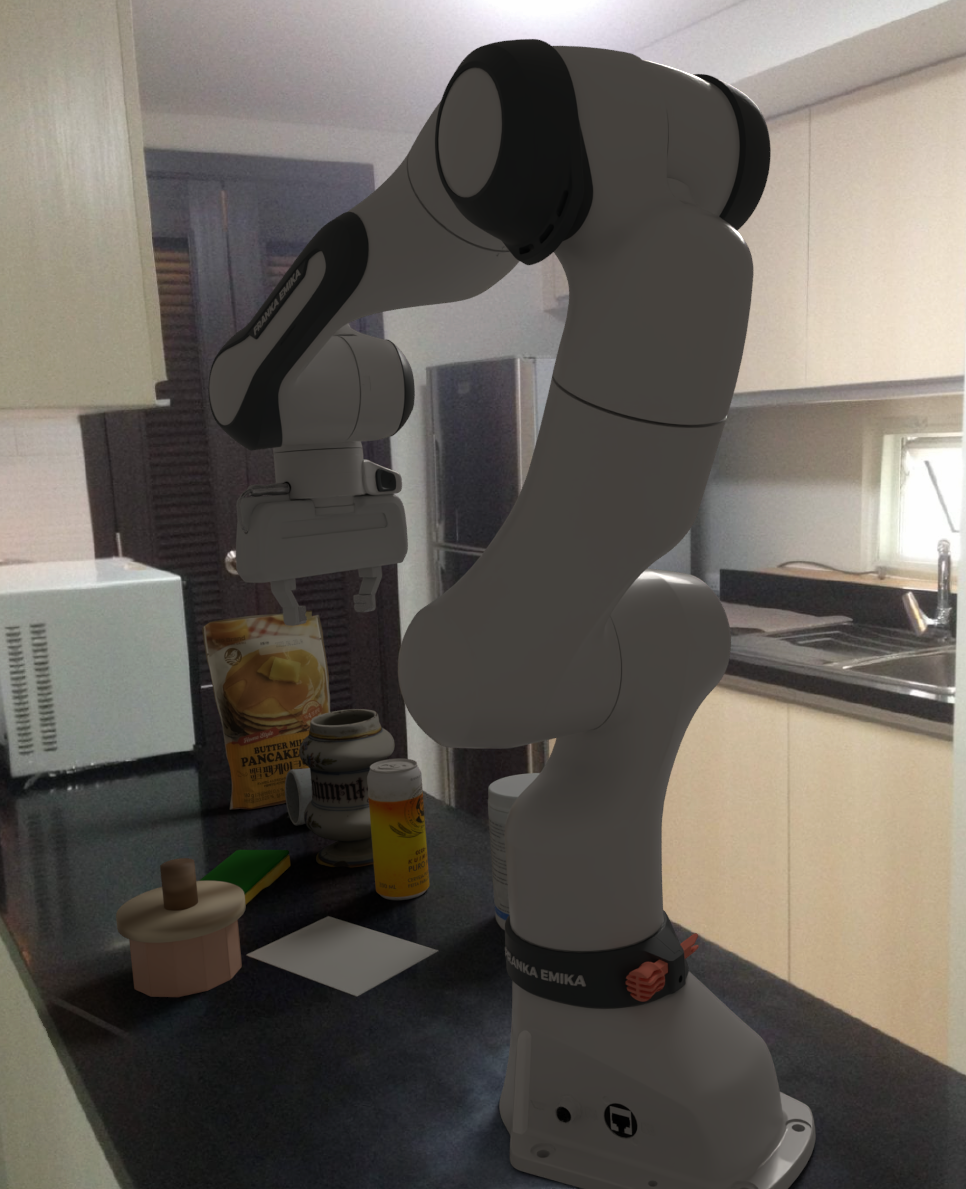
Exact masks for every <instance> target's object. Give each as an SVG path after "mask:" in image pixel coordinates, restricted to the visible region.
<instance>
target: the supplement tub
mask: <svg viewBox="0 0 966 1189" xmlns="http://www.w3.org/2000/svg"><path fill="white" fill-rule="evenodd" d="M540 773H541V772H532V773H529V772H528V773H522V774H513V775H509V776H505V777H501V778H499V779H497V780H494V781H493V782H491V783H490V784H489V785H488V790H487V793H488V799H487V814H488V815H487V816H488V827H489V829H488V830H489V844H490V857H491V859H490V860H491V870H492V874H491V875H492V883H493V884H492V886H493V901H494V913H495V921H496V923H497V925H498V926H499V927H500V928H501V929H502V930H503V931H505V922H506V919H507V917H508V916H509V915H510V913H509V897H508V881H507V865H506V849H505V834H504V832H505V825H506V820H507V817H508V814H509V811H510V809H511V807H512V805H513V803H514V802H515V800H516V799H517V798H518V796H519V795H520V794H521V793H522V792H523V791H524V790H525V789H526V788H527V787H528V786H529V785H530V784H531V783H532V782H533V781H534V780H535V779H536V778H537V776H538V775H539V774H540Z"/></svg>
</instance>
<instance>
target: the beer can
mask: <svg viewBox="0 0 966 1189" xmlns="http://www.w3.org/2000/svg"><path fill="white" fill-rule="evenodd" d="M367 784H368V797H369V809H370V822H371V835H372V848H373V860H374V864H373V872H374V881H375V882H374V884H375V886H374V887H375V892H376V893H377V894H378V895H380V896H381V897H382V898H384V899H386V900H390V901H405V900H406V901H407V900H411V899H415V898H418V897H420V896H422V895H423V894H424V893H425V892H426V891H427V890H428V888H429V887H430V873H429V860H428V859H429V857H428V845H427V833H426V832H427V831H426V818H425V804H424V803H425V802H424V791H423V790H424V789H423V777H422V771H421V769H420V767H419V766H418V762H417V761H416V760H414V759H409V758H389V759H387V760H383V761H379V762H376V763H374V764H372V765H371V766H370V770H369V773H368V776H367Z"/></svg>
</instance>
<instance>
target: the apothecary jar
mask: <svg viewBox="0 0 966 1189" xmlns="http://www.w3.org/2000/svg"><path fill="white" fill-rule="evenodd" d="M394 750H395V740H394V737H393V735H392V734H391V733H390V732H389V731H388V730H387V729H385V728H384V727H382V725H381V723H380V718H379V714H378V712H376V711H375V710H371V709H366V708H365V709H364V708H362V709H361V708H360V709H359V708H356V709H355V708H351V709H342V710H337V711H336V710H335V711H330V712H329V713H325V714H322V715H319V716H316V717H314V718H313V719H312V720H311V723H310V730H309V735H308V736H307V737H306V738H305V739H304V740H303V742H302V743H301V745H300V749H299V755H300V758H301V760H302V761H303V763H304V764H305V765H307V766H308V767H310V772H311V783H312V800H311V801H310V802H309V804H308V805H307V807H306V809H305V812H304V820H305V823H306V824H305V826H306V827H307V828H308V829H309V830H310V831H311V833H313V834H314V835H315V836H318V837H320V838H323V839H326V840H329V841H334V842H333V843H331V844H329V845H326V846H324V847H323V848H321V849H320V850H319V851H318V853H317V854H316V856H315V857H316V858H315V860H316V862H317V863H318V864H319V865H320V866H321V865H323V866H326V867H331V868H336V867H339V868H340V867H346V868H350V869H351V868H358V867H366V866H370V865H374V860H373V848H372V835H371V822H370V809H369V797H368V784H367V776H368V773H369V770H370V766H371V765H372V764H374V763H376V762H379V761H383V760H388V758H390V756H391V755H393V752H394Z"/></svg>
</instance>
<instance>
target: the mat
mask: <svg viewBox="0 0 966 1189" xmlns="http://www.w3.org/2000/svg"><path fill="white" fill-rule="evenodd" d="M436 953H439V949H436V948H435V949H434V948H431V947H428V946H425V945H422V944H420V943H419V944H418V943H415V942H413V941H409V940H406V939H403V938H399V937H396V936H393V935H390V934H387V933H383V932H380V931H377V930H373V929H370V928H367V927H364V926H361V925H358V924H354V923H352V922H348V921H345V920H342V919H338V918H335V917H332V916H329V915H327V916H326V917H324V918H321V919H319V920H317V921H315V922H313V923H311V924H308V925H307V926H304V927H302V928H300V929H298V930H296V931H294V932H292V933H290V934H287V935H284V936H283V937H281V938H279V939H277V940H275V941H273V942H270V943H269V944H266V945H264V946H262V947H260V948H257V949H255V950H254V951H251V952H249V953H247V954H246V955H245V956H246V957H249V958H251V959H254V960H258V961H259V962H262V963H266V964H268V965H270V966H273V967H276V968H279V969H281V970H283V971H286V972H290V973H292V974H295V975H298V976H300V977H303V978H306V979H307V980H310V981H312V982H313V981H314V982H316V983H319V984H321V985H325V986H326V987H330V988H332V989H335V990H338V991H340V992H343V993H345V994H347V995H351V996H354V997H360V996H361V995H363V994H365V993H366V992H369V991H370V990H372V989H373V988H376V987H378V986H380V985H381V984H382V983H384V982H386V981H388V980H390V979H391V978H393V977H396V976H397V975H399V974H401V973H402V972H404V971H406V970H408V969H409V968H411V967H413V966H415V965H416V964H418V963H420V962H423V961H424V960H426V959H427V958H429V957H431V956H432V955H435V954H436Z"/></svg>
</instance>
